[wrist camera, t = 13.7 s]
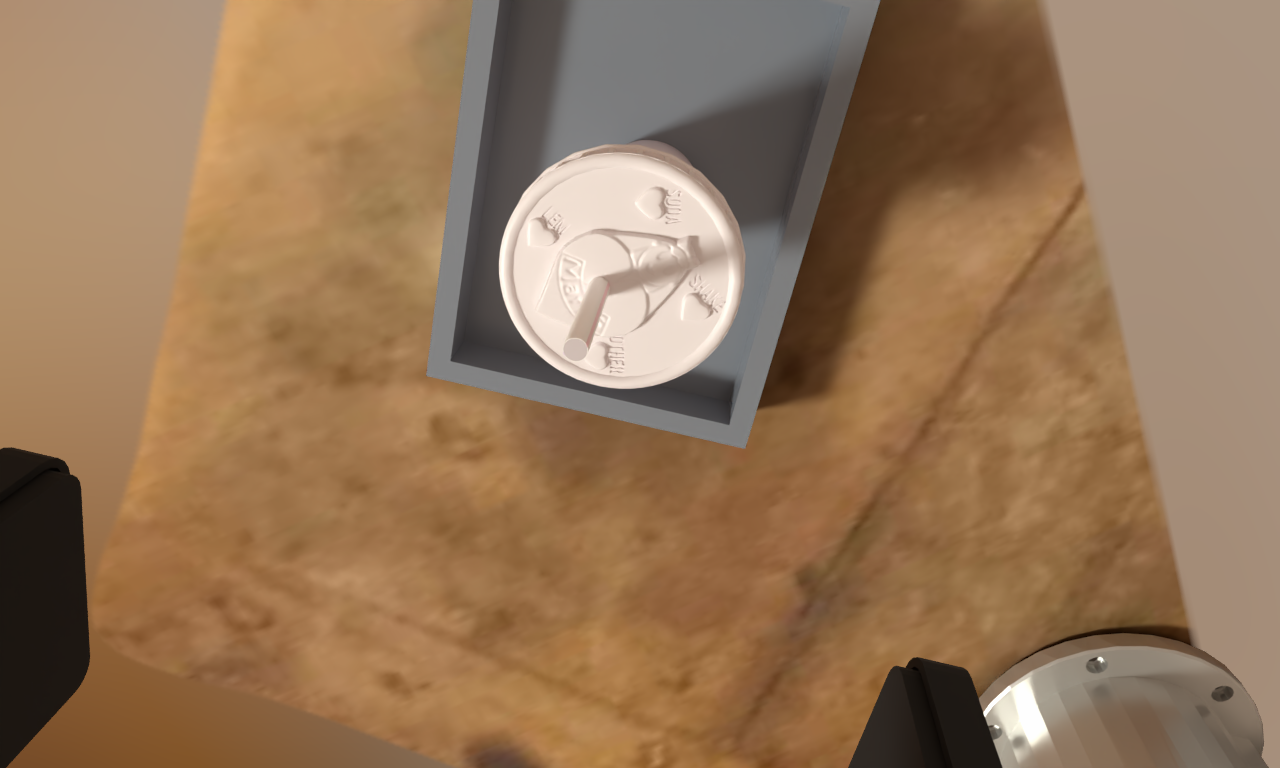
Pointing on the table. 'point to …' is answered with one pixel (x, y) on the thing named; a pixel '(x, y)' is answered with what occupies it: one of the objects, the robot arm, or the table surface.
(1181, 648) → the robot arm
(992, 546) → the table surface
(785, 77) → the grey tray
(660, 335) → the smoothie
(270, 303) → the table surface
